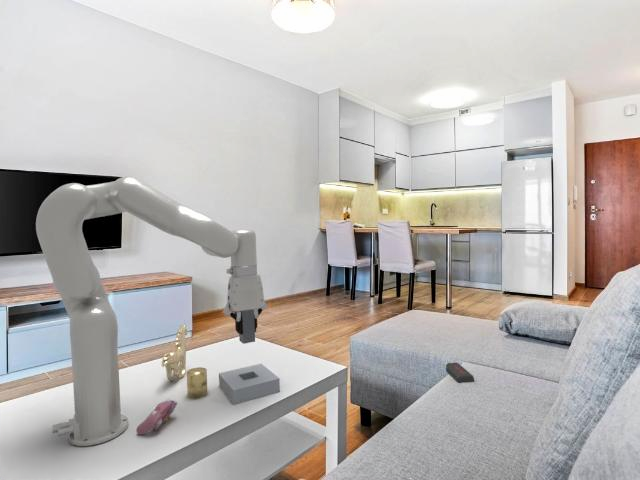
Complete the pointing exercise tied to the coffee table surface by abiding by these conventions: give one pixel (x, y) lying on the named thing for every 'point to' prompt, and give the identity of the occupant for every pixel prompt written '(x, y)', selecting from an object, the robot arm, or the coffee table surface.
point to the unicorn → (176, 355)
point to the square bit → (247, 327)
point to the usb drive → (458, 373)
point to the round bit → (197, 383)
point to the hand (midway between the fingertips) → (246, 331)
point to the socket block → (248, 383)
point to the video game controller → (157, 417)
